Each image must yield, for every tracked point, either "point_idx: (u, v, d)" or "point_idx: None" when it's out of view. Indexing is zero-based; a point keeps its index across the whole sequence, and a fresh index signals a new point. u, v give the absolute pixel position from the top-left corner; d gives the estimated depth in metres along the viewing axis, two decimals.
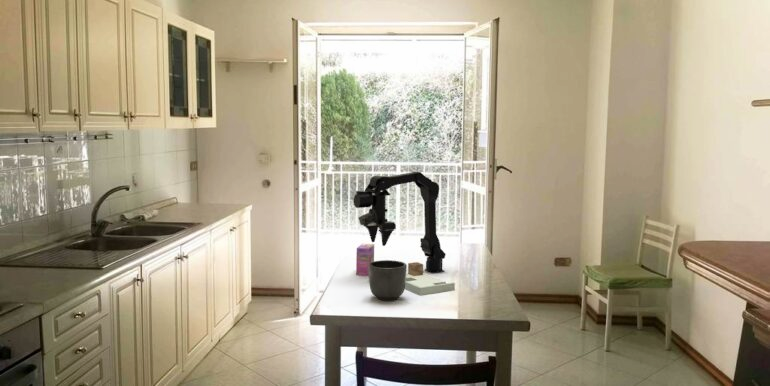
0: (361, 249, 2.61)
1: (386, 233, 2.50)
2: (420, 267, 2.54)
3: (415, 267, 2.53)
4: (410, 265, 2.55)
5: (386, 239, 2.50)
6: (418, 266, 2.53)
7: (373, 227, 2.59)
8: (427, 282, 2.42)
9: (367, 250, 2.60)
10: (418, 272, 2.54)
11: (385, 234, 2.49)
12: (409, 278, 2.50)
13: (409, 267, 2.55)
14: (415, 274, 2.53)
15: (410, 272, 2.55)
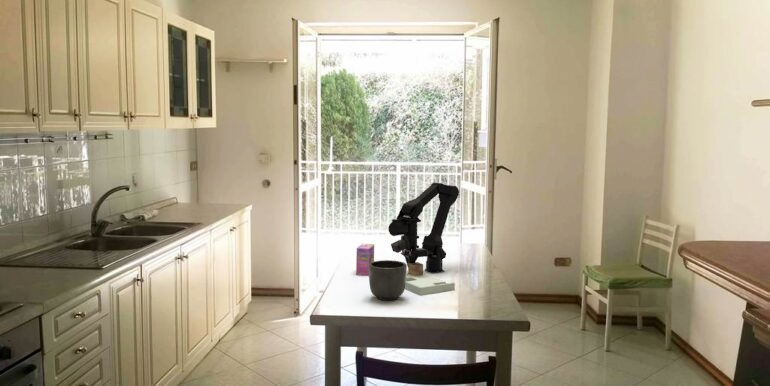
0: (361, 249, 2.61)
1: (412, 258, 2.58)
2: (420, 267, 2.54)
3: (415, 267, 2.53)
4: (410, 265, 2.55)
5: None
6: (418, 266, 2.53)
7: None
8: (427, 282, 2.42)
9: (367, 250, 2.60)
10: (418, 272, 2.54)
11: (411, 259, 2.58)
12: (409, 278, 2.50)
13: (409, 267, 2.55)
14: (415, 274, 2.53)
15: (410, 272, 2.55)
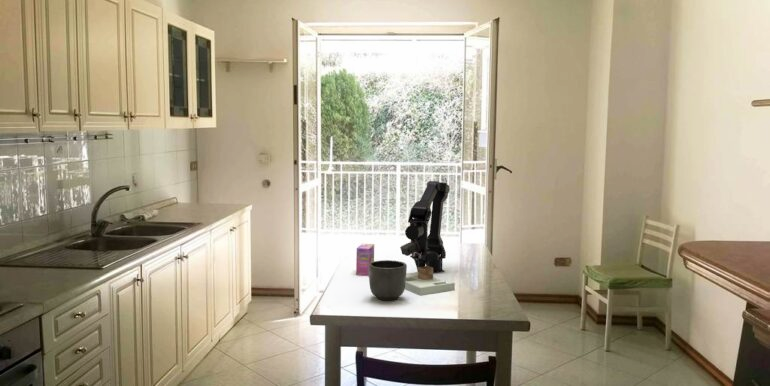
0: (361, 249, 2.61)
1: (422, 261, 2.51)
2: (430, 270, 2.47)
3: (425, 271, 2.46)
4: (420, 269, 2.48)
5: None
6: (428, 270, 2.47)
7: None
8: (427, 282, 2.42)
9: (367, 250, 2.60)
10: (428, 276, 2.47)
11: (421, 262, 2.51)
12: (409, 278, 2.50)
13: (419, 271, 2.49)
14: (425, 278, 2.47)
15: (420, 276, 2.48)
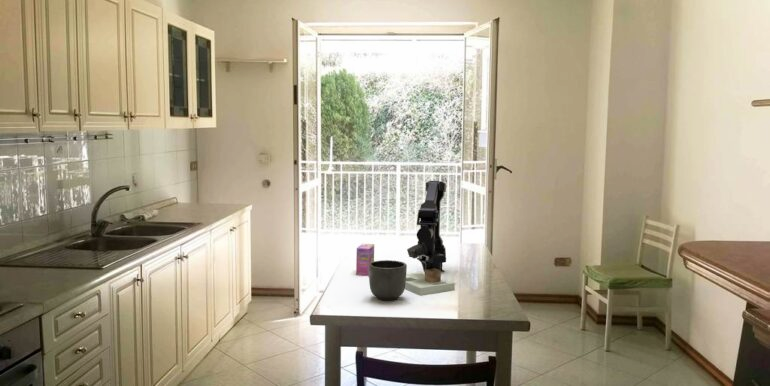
0: (361, 249, 2.61)
1: (429, 263, 2.47)
2: (437, 273, 2.43)
3: (432, 273, 2.42)
4: (427, 271, 2.44)
5: None
6: (435, 272, 2.42)
7: None
8: (427, 282, 2.42)
9: (367, 250, 2.60)
10: (435, 278, 2.43)
11: (428, 265, 2.47)
12: (409, 278, 2.50)
13: (426, 273, 2.44)
14: (432, 281, 2.42)
15: (427, 279, 2.44)
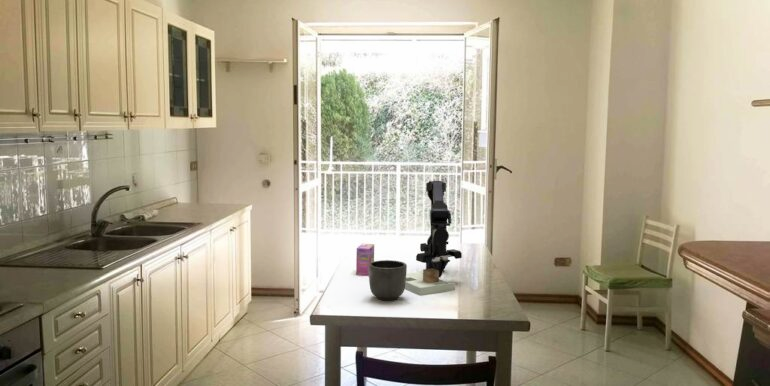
0: (361, 249, 2.61)
1: (437, 264, 2.45)
2: (435, 273, 2.42)
3: (430, 274, 2.41)
4: (425, 272, 2.43)
5: None
6: (434, 273, 2.42)
7: None
8: None
9: (367, 250, 2.60)
10: (433, 279, 2.42)
11: (436, 265, 2.46)
12: (409, 278, 2.50)
13: (424, 274, 2.44)
14: (431, 281, 2.42)
15: (425, 279, 2.43)
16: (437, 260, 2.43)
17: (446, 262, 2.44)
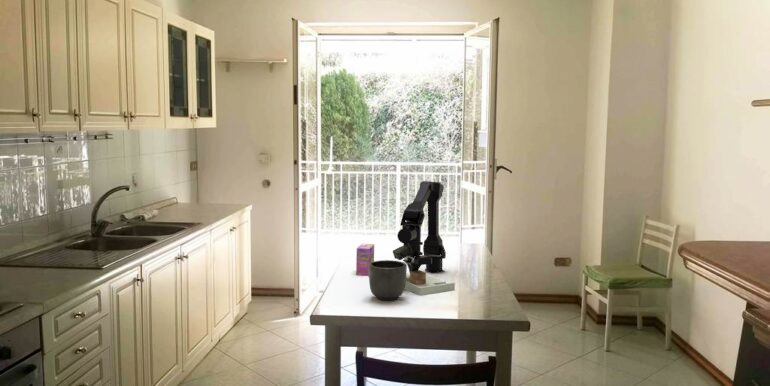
0: (361, 249, 2.61)
1: (415, 265, 2.43)
2: (422, 275, 2.39)
3: (417, 276, 2.38)
4: (412, 273, 2.40)
5: None
6: (421, 275, 2.39)
7: None
8: (427, 282, 2.42)
9: (367, 250, 2.60)
10: (420, 281, 2.39)
11: (414, 267, 2.43)
12: (409, 278, 2.50)
13: (411, 275, 2.41)
14: (417, 283, 2.38)
15: (412, 281, 2.40)
16: None
17: None
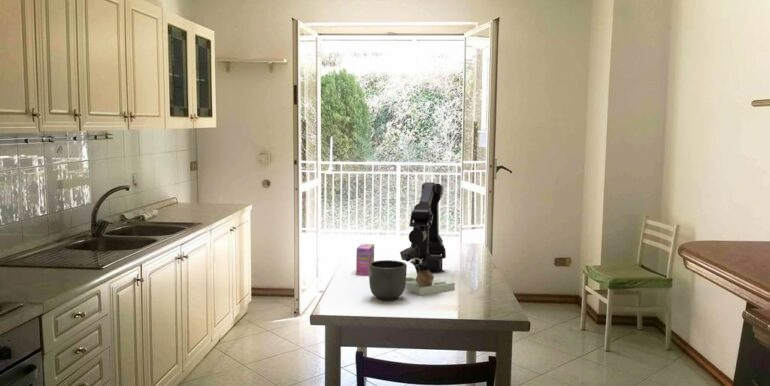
0: (361, 249, 2.61)
1: (423, 267, 2.38)
2: (429, 279, 2.35)
3: (425, 280, 2.33)
4: (420, 275, 2.35)
5: None
6: (428, 279, 2.34)
7: None
8: None
9: (367, 250, 2.60)
10: (426, 284, 2.35)
11: (422, 268, 2.38)
12: (409, 278, 2.50)
13: (418, 275, 2.36)
14: (423, 286, 2.35)
15: (418, 281, 2.36)
16: None
17: None
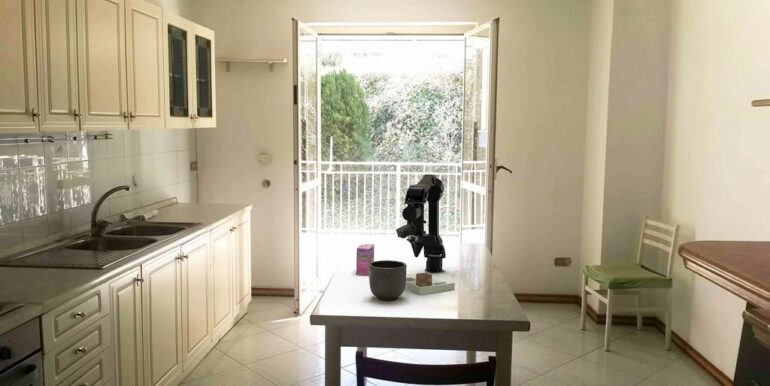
0: (361, 249, 2.61)
1: (419, 244, 2.40)
2: (428, 277, 2.35)
3: (423, 278, 2.34)
4: (418, 276, 2.36)
5: (419, 250, 2.41)
6: (427, 277, 2.35)
7: None
8: None
9: (367, 250, 2.60)
10: (426, 283, 2.35)
11: (418, 246, 2.40)
12: (409, 278, 2.50)
13: (417, 278, 2.37)
14: (423, 286, 2.35)
15: (418, 283, 2.37)
16: None
17: None
